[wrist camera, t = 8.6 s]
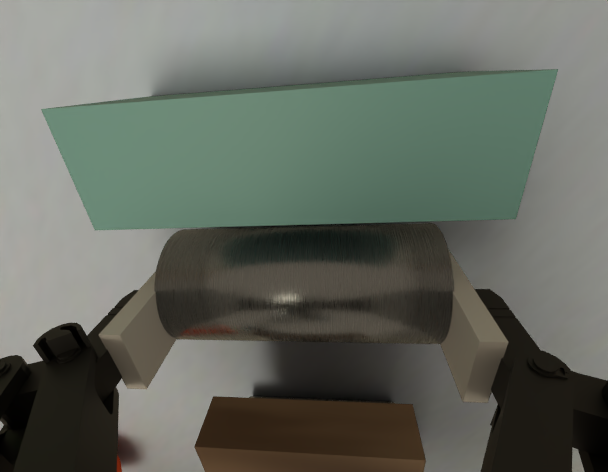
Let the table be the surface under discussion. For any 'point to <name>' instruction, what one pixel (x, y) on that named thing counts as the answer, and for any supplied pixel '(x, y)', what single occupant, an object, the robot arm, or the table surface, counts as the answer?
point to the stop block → (309, 152)
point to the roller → (307, 284)
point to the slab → (309, 436)
